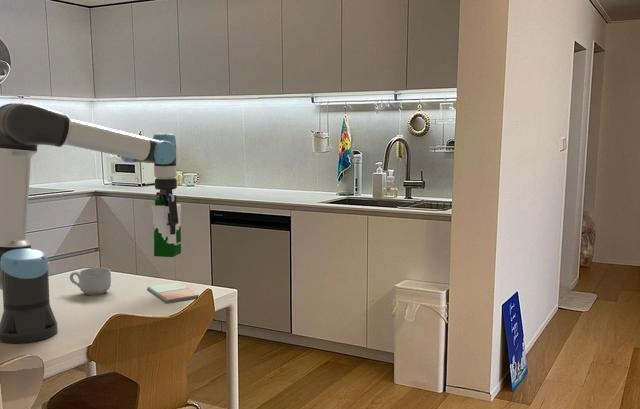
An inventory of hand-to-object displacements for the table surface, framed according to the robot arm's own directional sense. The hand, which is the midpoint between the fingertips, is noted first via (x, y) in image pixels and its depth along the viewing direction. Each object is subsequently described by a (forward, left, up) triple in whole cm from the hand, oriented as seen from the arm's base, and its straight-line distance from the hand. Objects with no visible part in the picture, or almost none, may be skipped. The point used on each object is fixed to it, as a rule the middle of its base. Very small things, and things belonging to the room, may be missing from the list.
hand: (167, 241), depth 214 cm
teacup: (-24, +11, -18) cm, 32 cm away
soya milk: (0, 0, -5) cm, 5 cm away
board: (0, -5, -18) cm, 19 cm away
